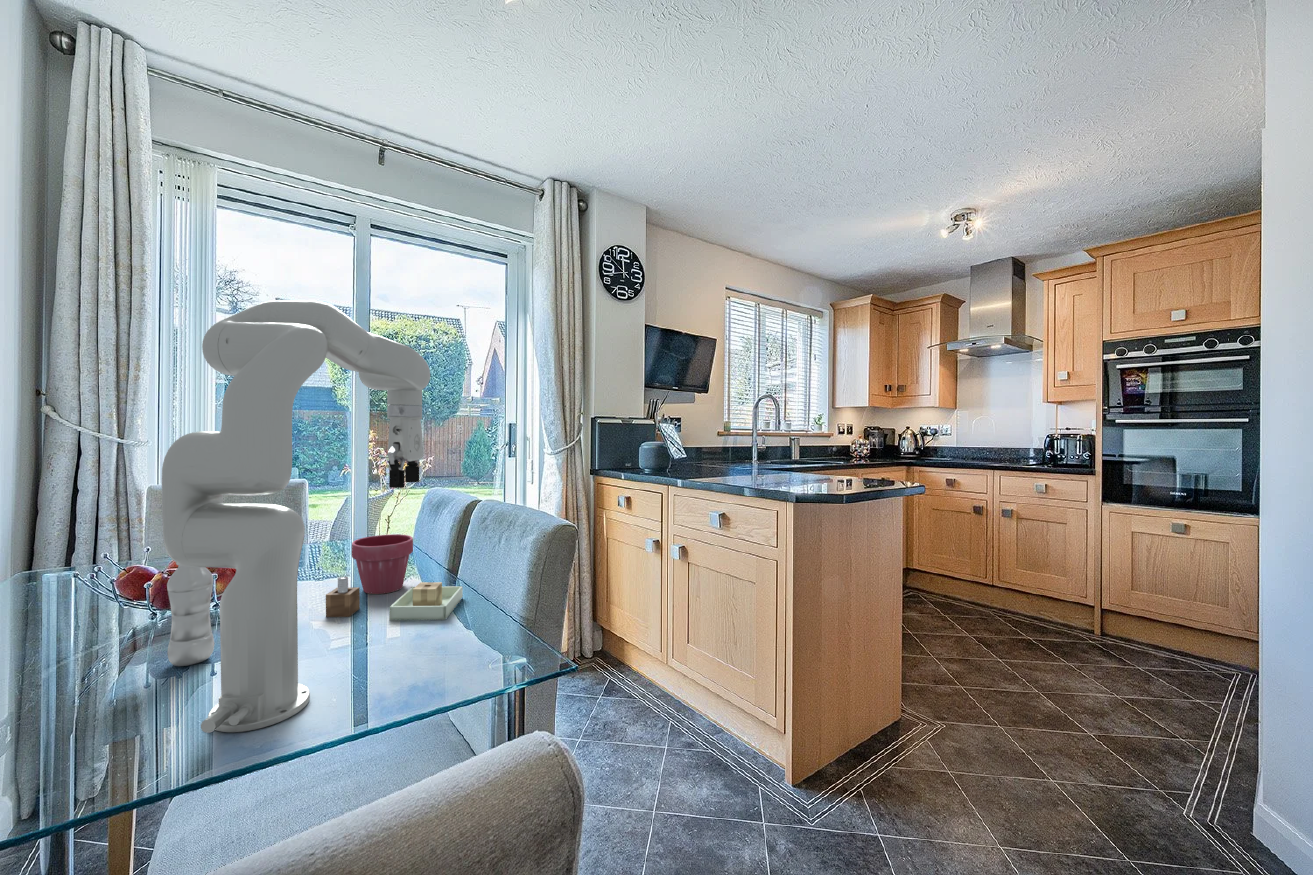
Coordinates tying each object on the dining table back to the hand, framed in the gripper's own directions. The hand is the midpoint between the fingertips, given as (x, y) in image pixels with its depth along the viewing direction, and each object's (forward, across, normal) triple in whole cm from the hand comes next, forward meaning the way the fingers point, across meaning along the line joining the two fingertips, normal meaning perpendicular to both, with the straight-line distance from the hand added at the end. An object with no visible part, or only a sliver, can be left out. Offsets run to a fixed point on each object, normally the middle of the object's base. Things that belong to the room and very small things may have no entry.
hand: (404, 484), depth 131 cm
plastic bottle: (+28, -31, +26) cm, 49 cm away
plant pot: (+28, +10, +9) cm, 32 cm away
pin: (+28, -7, +11) cm, 31 cm away
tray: (+28, -5, -7) cm, 30 cm away
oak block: (+28, -5, -7) cm, 29 cm away
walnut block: (+28, -7, +11) cm, 31 cm away
